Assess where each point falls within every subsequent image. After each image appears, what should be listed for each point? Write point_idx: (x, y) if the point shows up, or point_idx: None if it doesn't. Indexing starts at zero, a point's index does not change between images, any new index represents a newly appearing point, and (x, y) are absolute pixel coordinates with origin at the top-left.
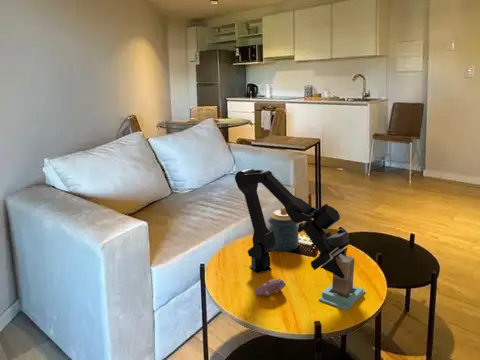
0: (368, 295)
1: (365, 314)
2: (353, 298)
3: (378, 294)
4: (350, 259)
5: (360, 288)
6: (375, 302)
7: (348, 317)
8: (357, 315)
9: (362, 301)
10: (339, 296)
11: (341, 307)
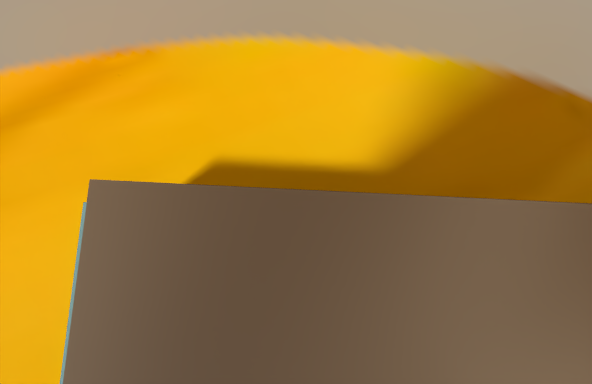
0: (139, 157)
1: (457, 79)
2: None
3: (72, 86)
4: (307, 268)
5: None
6: (227, 68)
7: (588, 179)
8: (512, 128)
9: (276, 168)
10: None
11: None
